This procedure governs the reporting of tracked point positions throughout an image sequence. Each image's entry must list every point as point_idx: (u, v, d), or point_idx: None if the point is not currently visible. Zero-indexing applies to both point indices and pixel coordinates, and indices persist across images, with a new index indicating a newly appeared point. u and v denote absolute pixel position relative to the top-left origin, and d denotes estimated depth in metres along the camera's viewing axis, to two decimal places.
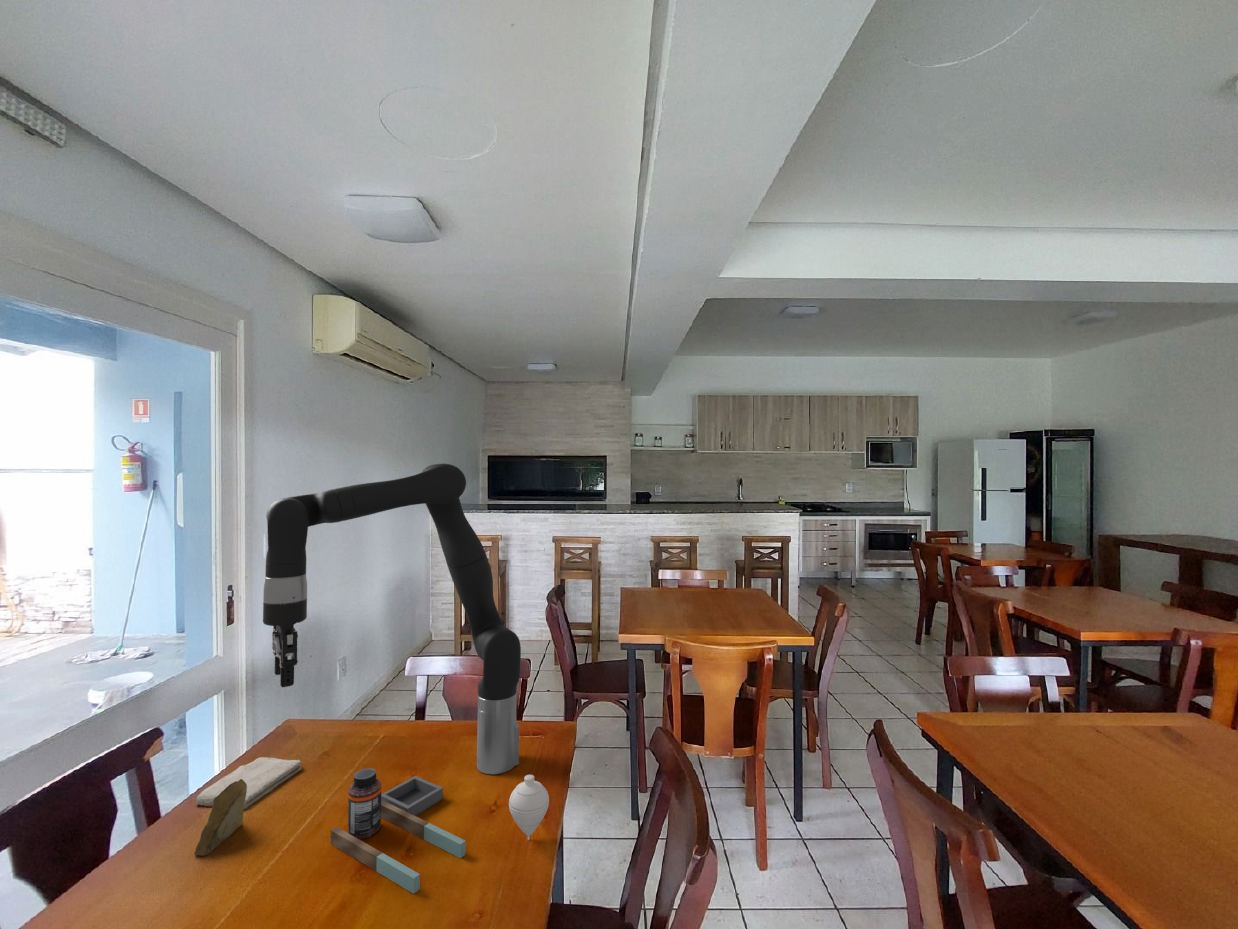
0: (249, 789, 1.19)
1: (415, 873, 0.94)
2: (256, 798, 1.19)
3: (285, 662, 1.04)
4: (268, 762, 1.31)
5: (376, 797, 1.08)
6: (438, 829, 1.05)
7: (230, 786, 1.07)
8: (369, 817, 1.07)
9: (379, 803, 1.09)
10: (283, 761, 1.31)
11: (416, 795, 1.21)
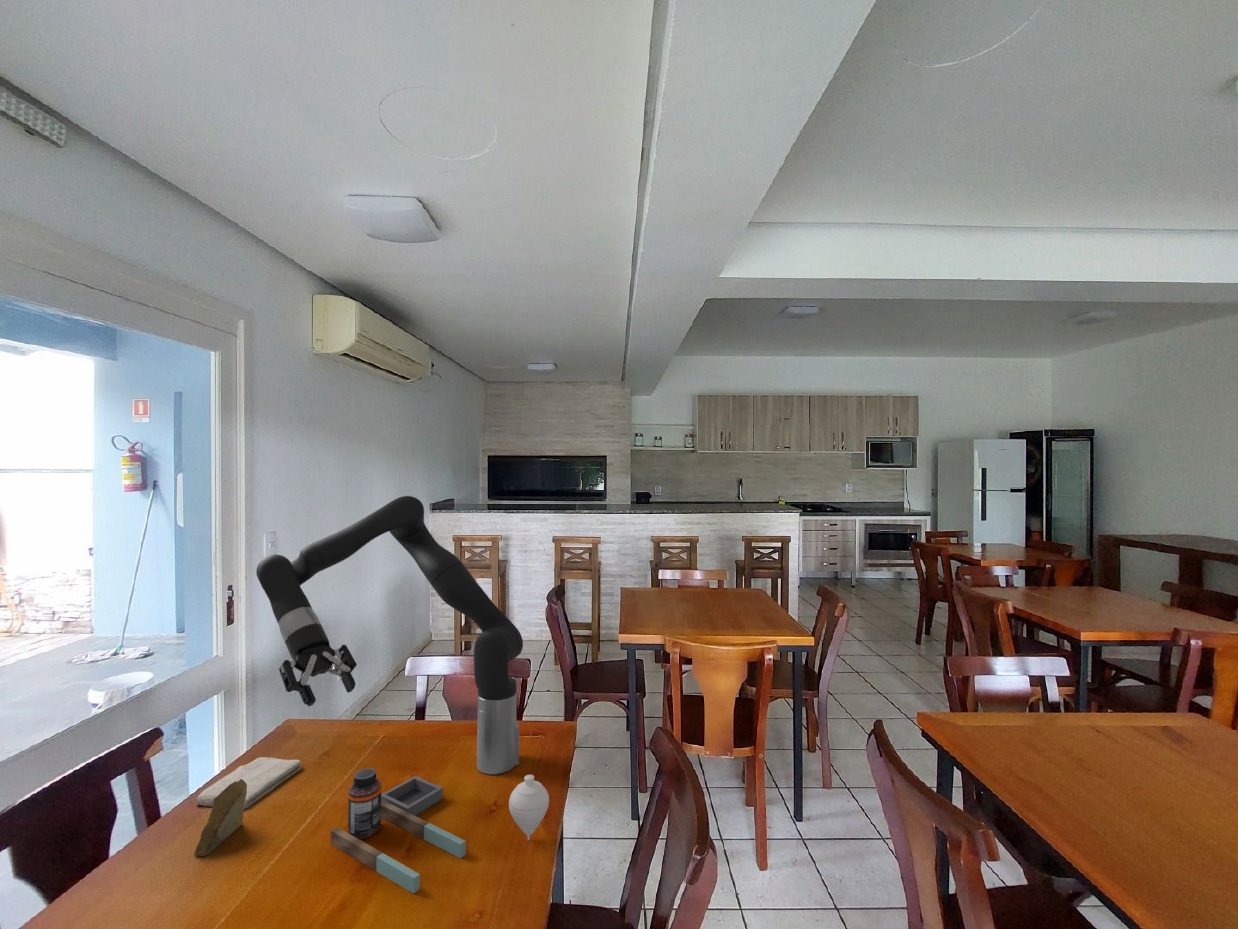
0: (250, 789, 1.19)
1: (415, 873, 0.94)
2: (257, 798, 1.19)
3: None
4: (268, 762, 1.31)
5: (376, 797, 1.08)
6: (438, 829, 1.05)
7: (230, 786, 1.07)
8: (369, 817, 1.07)
9: (379, 803, 1.09)
10: (283, 761, 1.31)
11: (416, 795, 1.21)
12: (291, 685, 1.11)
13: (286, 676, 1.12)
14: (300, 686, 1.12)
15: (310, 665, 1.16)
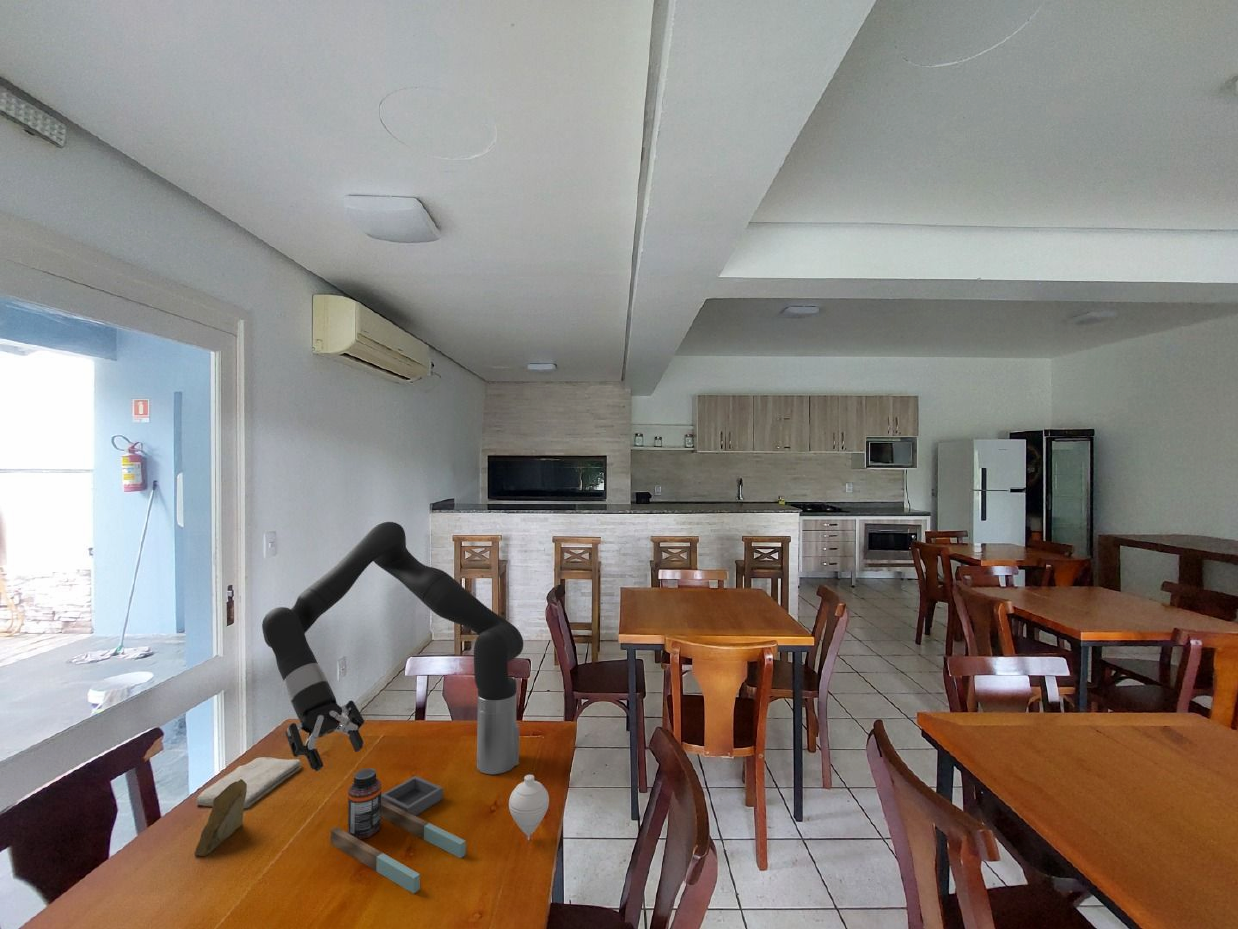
0: (250, 789, 1.19)
1: (415, 873, 0.94)
2: (257, 797, 1.19)
3: None
4: (267, 762, 1.31)
5: (376, 797, 1.08)
6: (438, 829, 1.05)
7: (230, 786, 1.07)
8: (369, 817, 1.07)
9: (379, 803, 1.09)
10: (282, 761, 1.31)
11: (416, 795, 1.21)
12: (298, 751, 1.09)
13: (293, 741, 1.10)
14: (307, 751, 1.10)
15: (317, 727, 1.13)
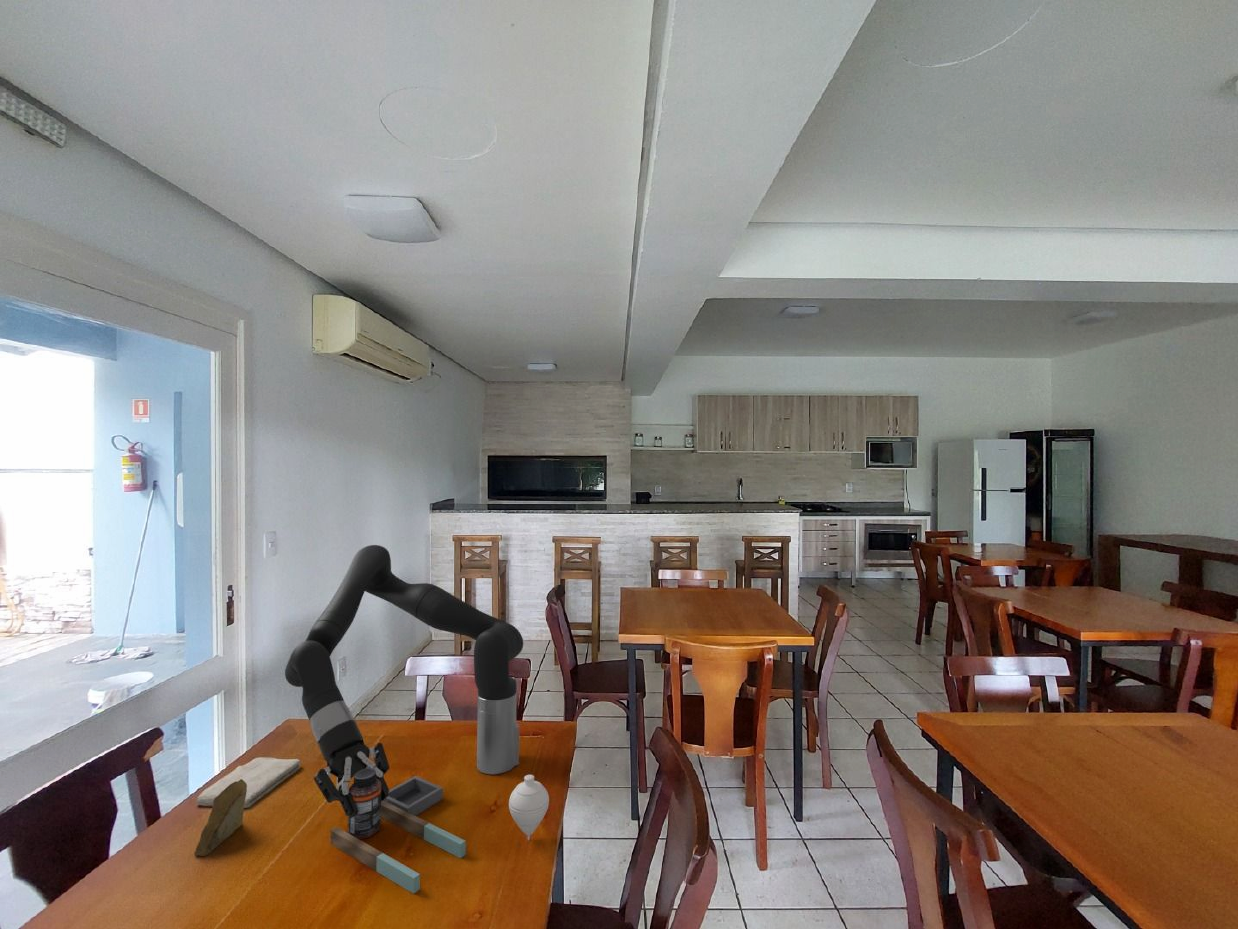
0: (251, 788, 1.19)
1: (415, 873, 0.94)
2: (258, 797, 1.19)
3: None
4: (267, 762, 1.31)
5: (376, 797, 1.08)
6: (438, 829, 1.05)
7: (230, 786, 1.07)
8: (369, 816, 1.07)
9: (379, 803, 1.09)
10: (282, 760, 1.31)
11: (416, 795, 1.21)
12: (333, 796, 1.04)
13: (325, 787, 1.05)
14: (342, 796, 1.06)
15: (347, 770, 1.09)
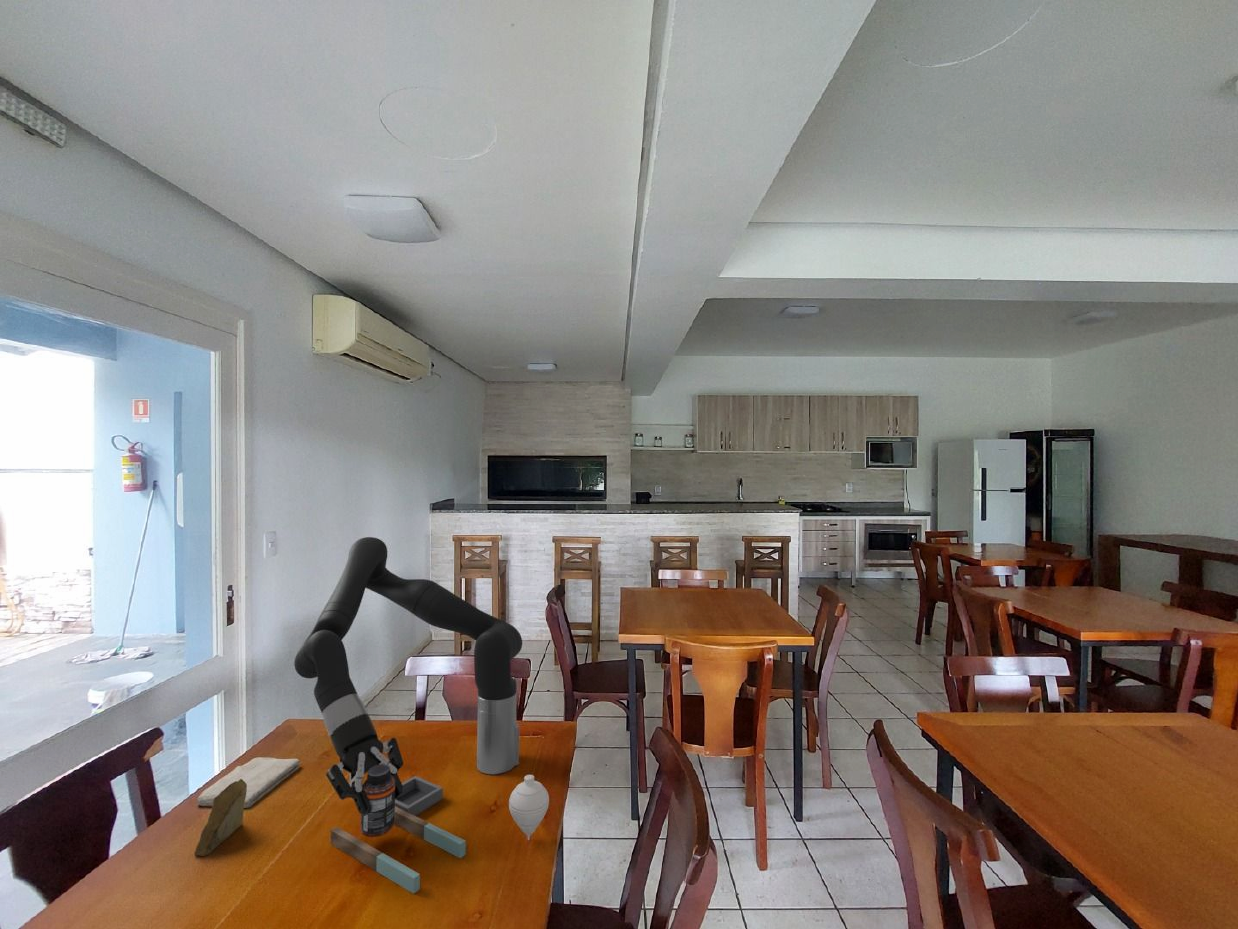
0: (252, 788, 1.20)
1: (415, 873, 0.94)
2: (259, 796, 1.19)
3: None
4: (266, 762, 1.31)
5: (390, 794, 1.04)
6: (438, 829, 1.05)
7: (230, 786, 1.07)
8: (382, 814, 1.03)
9: (393, 800, 1.05)
10: (281, 760, 1.32)
11: (416, 795, 1.21)
12: (346, 793, 1.01)
13: (338, 784, 1.01)
14: (355, 793, 1.02)
15: (360, 766, 1.05)
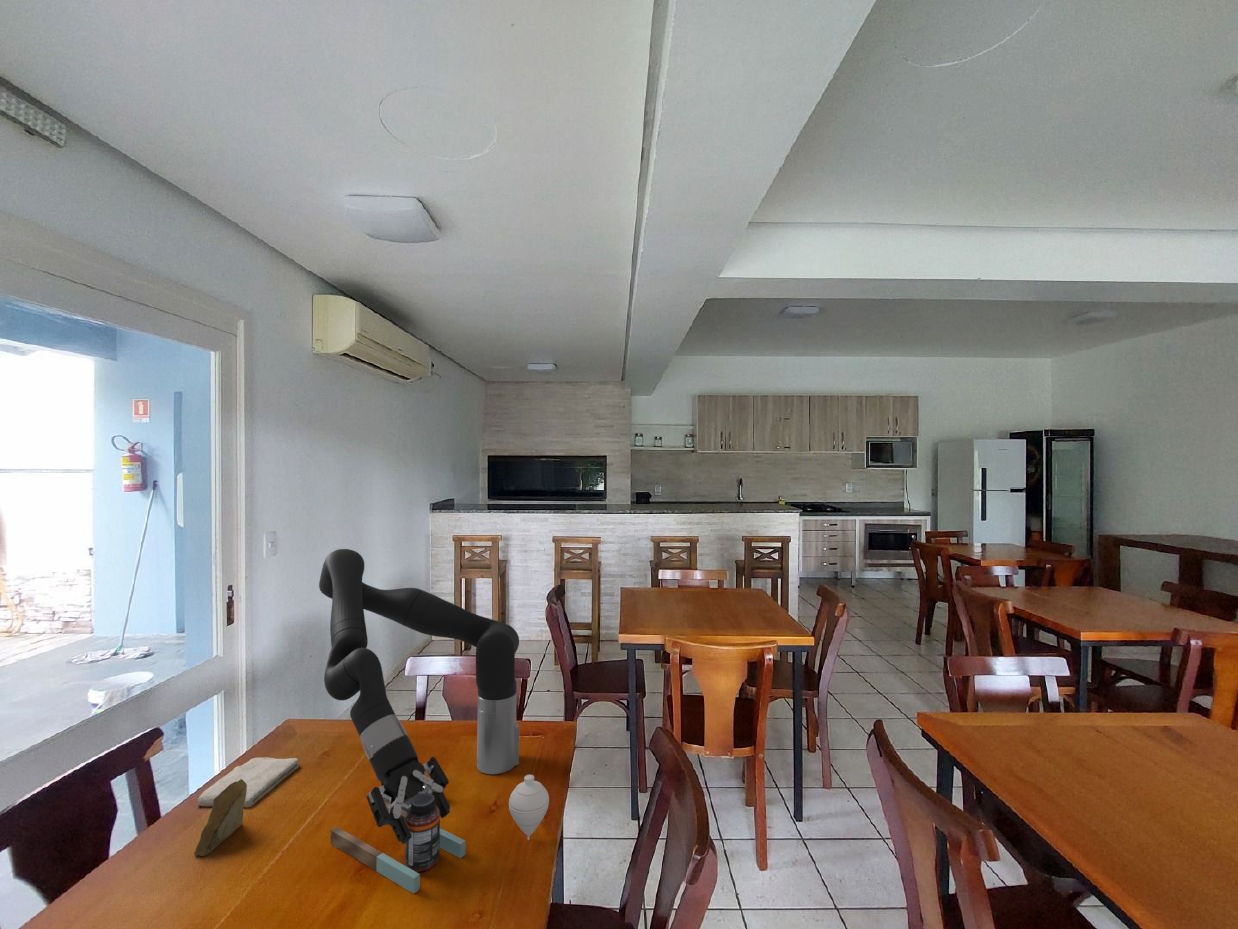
0: (252, 787, 1.20)
1: (415, 873, 0.94)
2: (260, 796, 1.20)
3: None
4: (264, 762, 1.31)
5: (436, 825, 0.99)
6: None
7: (230, 786, 1.07)
8: (428, 847, 0.98)
9: (438, 832, 1.00)
10: (280, 760, 1.32)
11: (416, 795, 1.21)
12: (383, 820, 0.95)
13: (377, 808, 0.96)
14: (393, 820, 0.96)
15: (401, 791, 1.00)
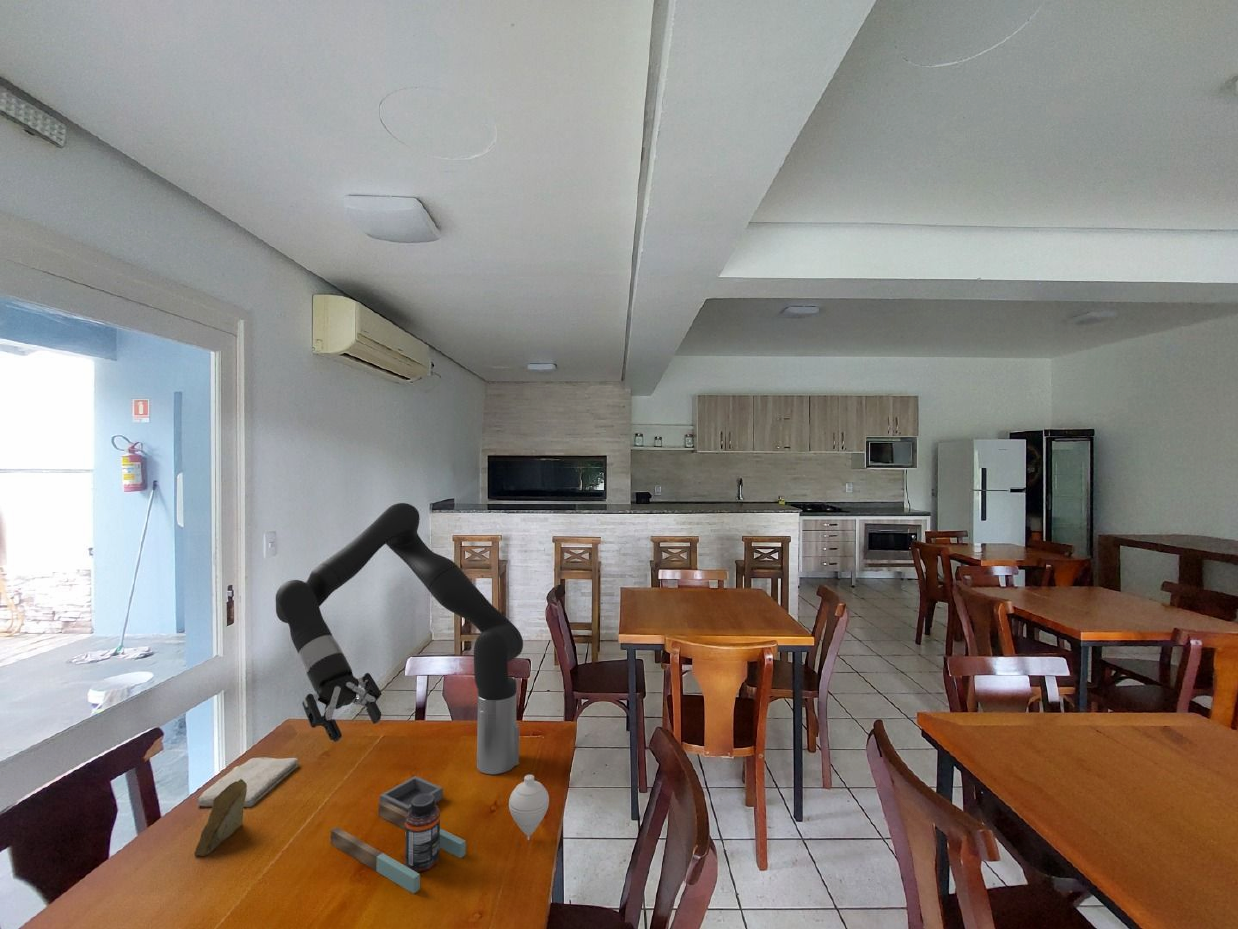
0: (253, 787, 1.20)
1: (415, 873, 0.94)
2: (261, 795, 1.20)
3: None
4: (264, 762, 1.31)
5: (436, 825, 0.99)
6: None
7: (230, 786, 1.07)
8: (428, 847, 0.98)
9: (438, 832, 1.00)
10: (279, 760, 1.32)
11: (416, 795, 1.21)
12: (316, 721, 1.06)
13: (310, 711, 1.07)
14: (325, 721, 1.08)
15: (334, 698, 1.11)
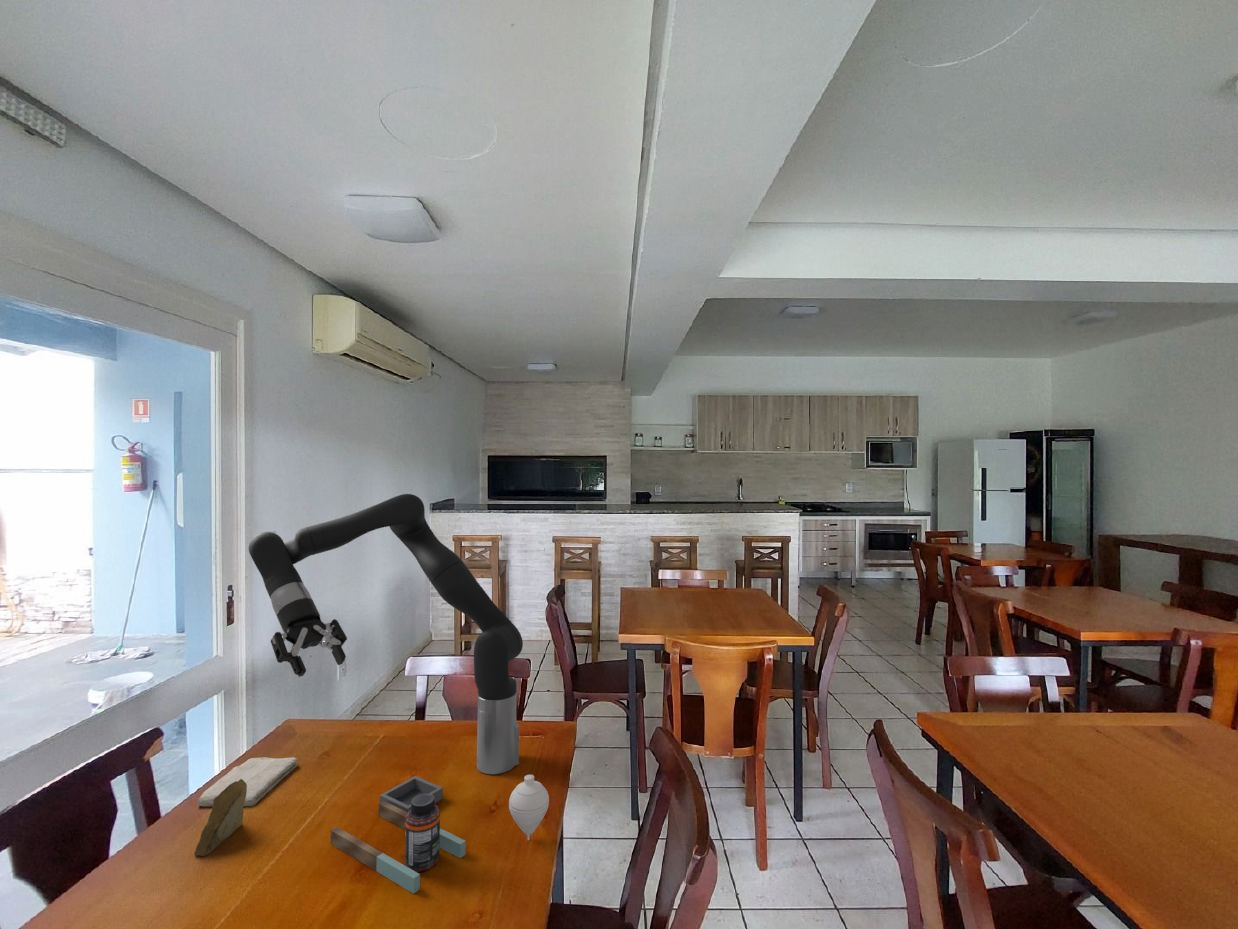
0: (254, 787, 1.20)
1: (415, 873, 0.94)
2: (262, 795, 1.20)
3: None
4: (263, 762, 1.31)
5: (436, 825, 0.99)
6: None
7: (230, 786, 1.07)
8: (428, 847, 0.98)
9: (438, 832, 1.00)
10: (278, 759, 1.32)
11: (416, 795, 1.21)
12: (282, 656, 1.14)
13: (277, 647, 1.15)
14: (291, 657, 1.15)
15: (301, 637, 1.19)
